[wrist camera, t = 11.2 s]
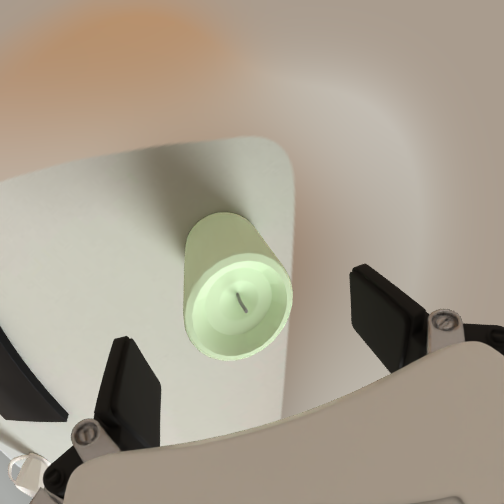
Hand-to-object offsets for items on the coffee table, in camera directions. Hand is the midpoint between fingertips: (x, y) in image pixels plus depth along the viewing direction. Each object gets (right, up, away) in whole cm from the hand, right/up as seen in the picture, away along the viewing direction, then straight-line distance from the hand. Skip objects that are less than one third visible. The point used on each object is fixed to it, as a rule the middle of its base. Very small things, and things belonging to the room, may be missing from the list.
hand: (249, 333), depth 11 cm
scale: (-28, -10, +7) cm, 31 cm away
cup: (-37, -32, +14) cm, 51 cm away
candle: (-2, +4, +8) cm, 9 cm away
